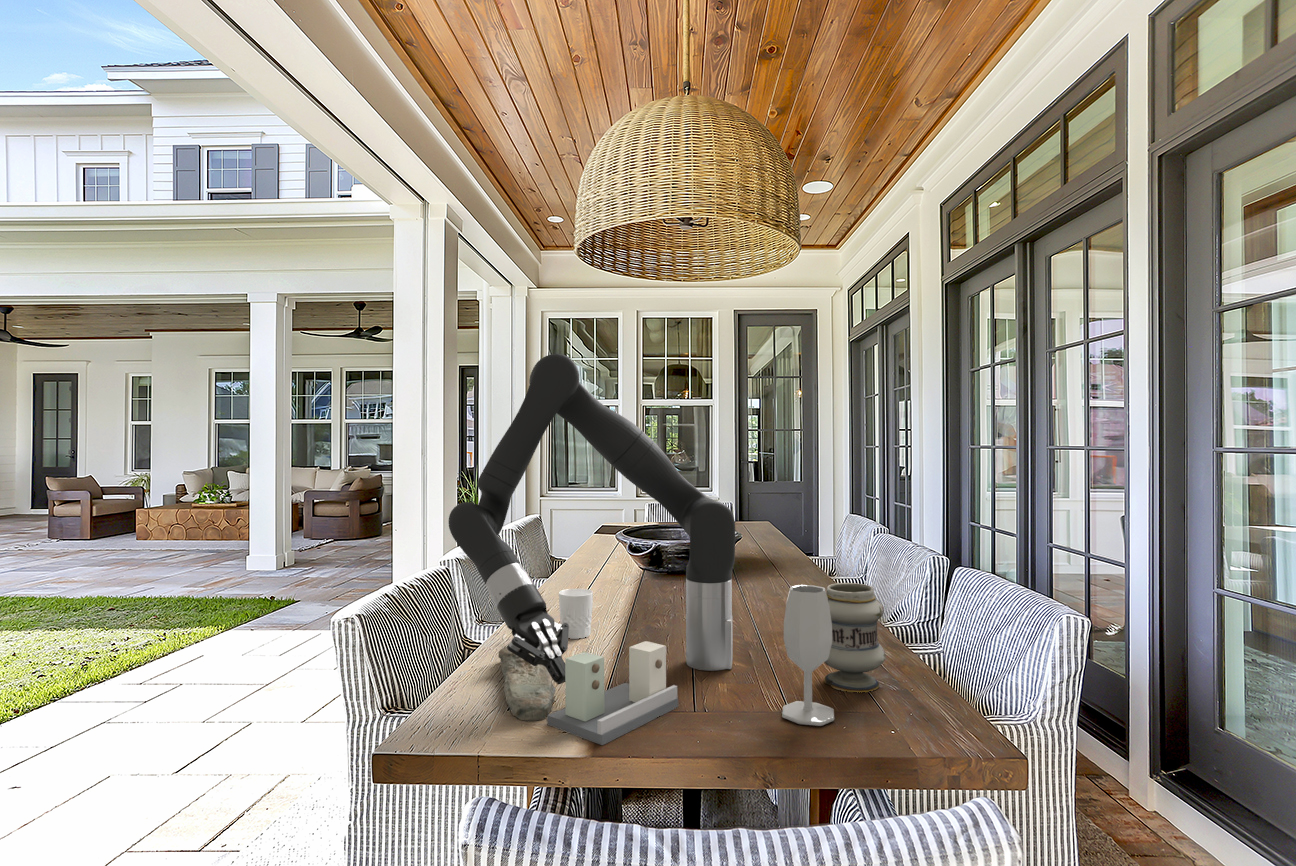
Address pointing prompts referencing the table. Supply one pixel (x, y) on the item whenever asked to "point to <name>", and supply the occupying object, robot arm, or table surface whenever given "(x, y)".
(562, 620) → the white cup
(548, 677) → the elongated rock
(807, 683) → the wineglass
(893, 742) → the table surface
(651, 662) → the white block
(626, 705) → the tile board
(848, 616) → the apothecary jar
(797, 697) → the table surface
